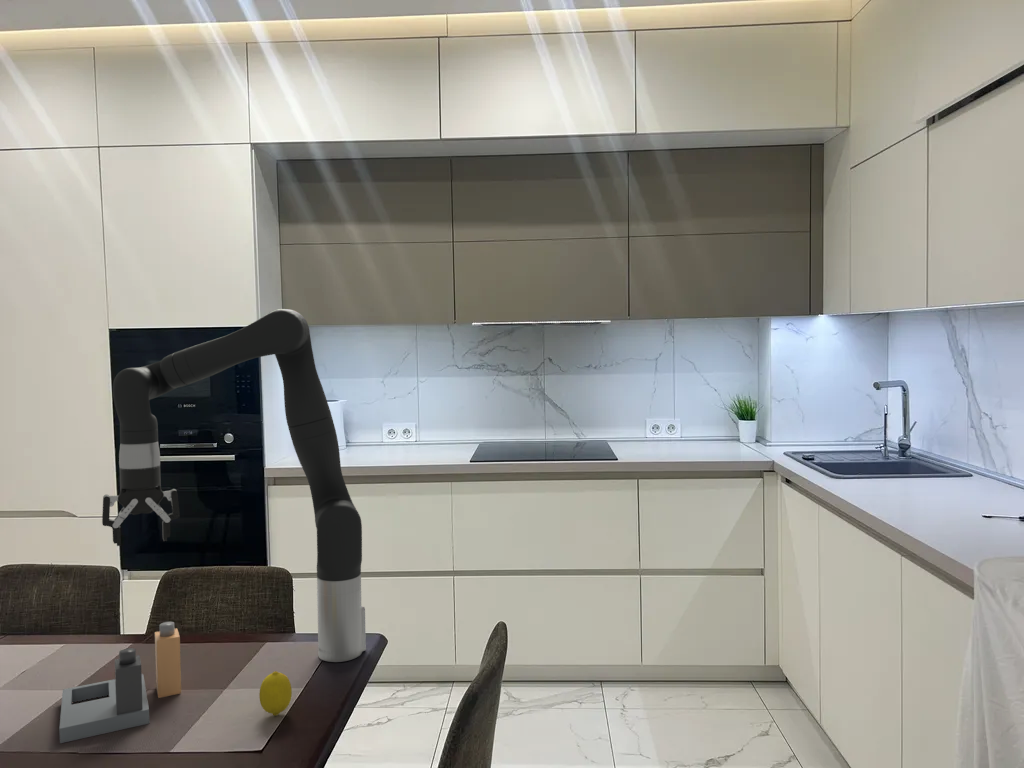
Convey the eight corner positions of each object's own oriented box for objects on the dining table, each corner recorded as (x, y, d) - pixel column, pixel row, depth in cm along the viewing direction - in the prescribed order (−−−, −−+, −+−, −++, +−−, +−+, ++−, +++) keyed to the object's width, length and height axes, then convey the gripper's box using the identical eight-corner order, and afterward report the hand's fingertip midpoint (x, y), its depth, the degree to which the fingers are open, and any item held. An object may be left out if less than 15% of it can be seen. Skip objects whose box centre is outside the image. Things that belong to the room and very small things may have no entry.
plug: (178, 683, 148) (176, 618, 147) (181, 693, 143) (179, 626, 143) (156, 687, 146) (154, 622, 145) (158, 698, 141) (156, 630, 141)
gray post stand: (143, 686, 146) (141, 623, 146) (149, 723, 132) (147, 653, 131) (63, 702, 140) (61, 636, 139) (59, 743, 125) (57, 669, 124)
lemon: (295, 707, 137) (294, 664, 137) (287, 722, 131) (286, 677, 131) (265, 708, 137) (264, 665, 136) (255, 723, 131) (254, 678, 131)
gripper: (100, 469, 147) (103, 551, 148) (179, 464, 154) (181, 542, 155) (100, 465, 154) (102, 543, 154) (176, 459, 161) (178, 534, 161)
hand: (142, 542), depth 155 cm, fingers open, 8 cm apart
